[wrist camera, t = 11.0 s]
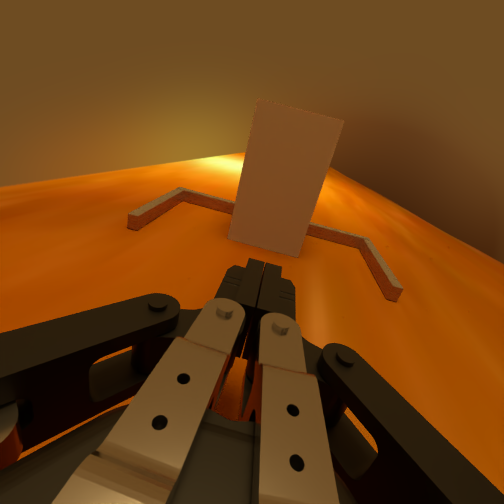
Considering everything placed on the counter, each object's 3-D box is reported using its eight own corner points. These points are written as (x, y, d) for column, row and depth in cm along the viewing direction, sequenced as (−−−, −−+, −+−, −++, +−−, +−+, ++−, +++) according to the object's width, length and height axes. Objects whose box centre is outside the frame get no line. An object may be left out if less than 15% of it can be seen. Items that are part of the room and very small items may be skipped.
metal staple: (364, 247, 39) (368, 238, 39) (396, 301, 27) (403, 288, 26) (178, 197, 40) (179, 186, 39) (127, 227, 28) (127, 213, 27)
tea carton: (296, 233, 38) (332, 122, 32) (297, 257, 31) (344, 120, 25) (239, 217, 38) (265, 104, 33) (227, 238, 31) (257, 98, 25)
